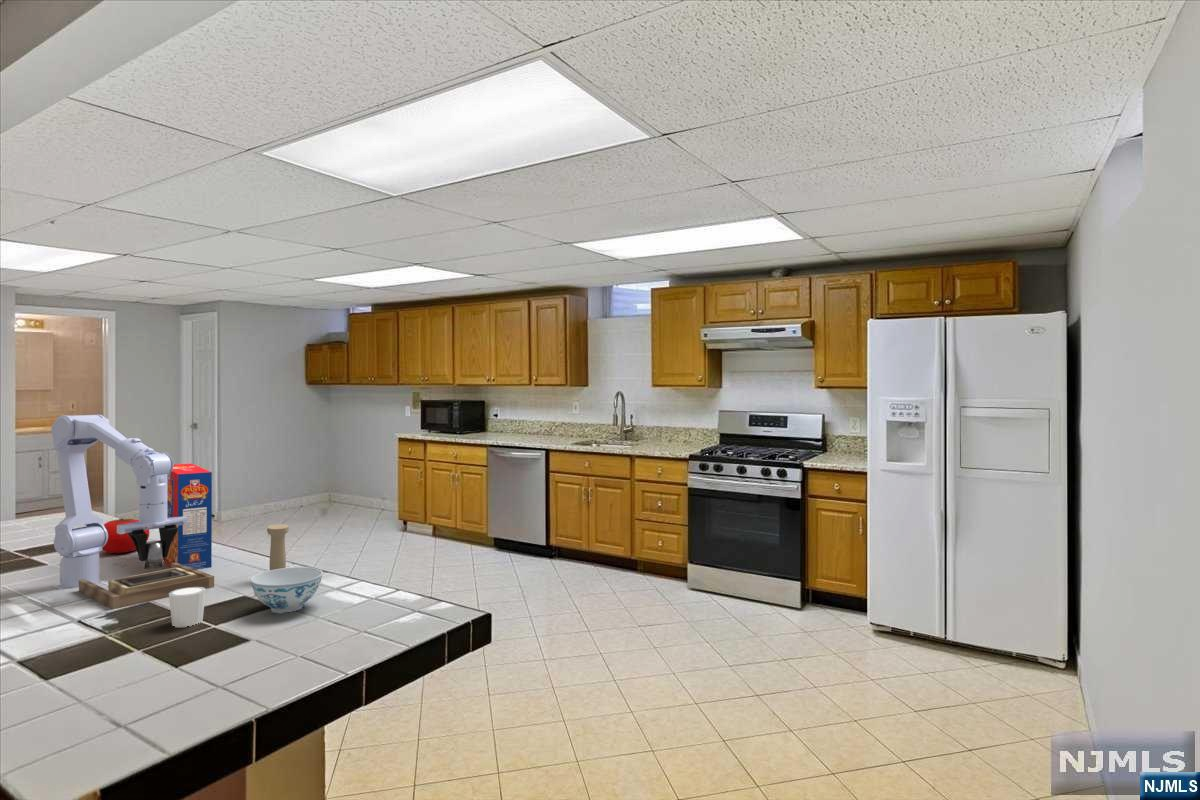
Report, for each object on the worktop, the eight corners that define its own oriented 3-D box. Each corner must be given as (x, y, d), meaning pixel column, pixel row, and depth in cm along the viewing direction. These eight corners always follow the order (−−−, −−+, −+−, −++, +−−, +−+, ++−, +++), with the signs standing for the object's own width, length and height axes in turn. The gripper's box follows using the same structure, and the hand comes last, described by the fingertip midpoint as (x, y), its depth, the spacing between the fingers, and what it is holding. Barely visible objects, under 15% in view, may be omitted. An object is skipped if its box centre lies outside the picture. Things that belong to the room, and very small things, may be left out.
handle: (269, 588, 169) (269, 529, 168) (265, 582, 174) (265, 525, 174) (289, 585, 171) (290, 527, 171) (285, 579, 177) (285, 523, 176)
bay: (78, 596, 160) (78, 580, 160) (175, 577, 178) (175, 562, 178) (113, 614, 148) (113, 597, 148) (214, 592, 165) (214, 576, 165)
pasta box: (160, 557, 199) (160, 465, 198) (191, 553, 204) (191, 463, 204) (177, 577, 178) (178, 474, 178) (211, 572, 183) (211, 472, 183)
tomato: (115, 546, 211) (115, 514, 211) (157, 546, 213) (157, 514, 213) (85, 558, 197) (85, 523, 197) (131, 557, 199) (131, 522, 198)
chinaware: (336, 603, 157) (336, 571, 157) (282, 623, 143) (282, 588, 143) (291, 595, 163) (291, 564, 163) (235, 613, 149) (235, 579, 149)
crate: (108, 594, 158) (108, 580, 158) (177, 580, 170) (177, 567, 170) (126, 603, 151) (126, 588, 151) (196, 588, 164) (196, 574, 164)
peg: (140, 567, 160) (140, 542, 160) (158, 563, 163) (158, 539, 163) (147, 569, 158) (148, 544, 158) (166, 566, 161) (166, 541, 161)
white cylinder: (213, 619, 145) (213, 588, 145) (184, 630, 139) (184, 597, 139) (190, 616, 147) (190, 584, 147) (160, 626, 141) (160, 593, 141)
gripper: (125, 508, 152) (125, 567, 152) (193, 500, 164) (193, 555, 164) (113, 505, 156) (113, 562, 156) (180, 498, 168) (180, 551, 168)
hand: (153, 558), depth 161 cm, fingers closed on peg, 4 cm apart
